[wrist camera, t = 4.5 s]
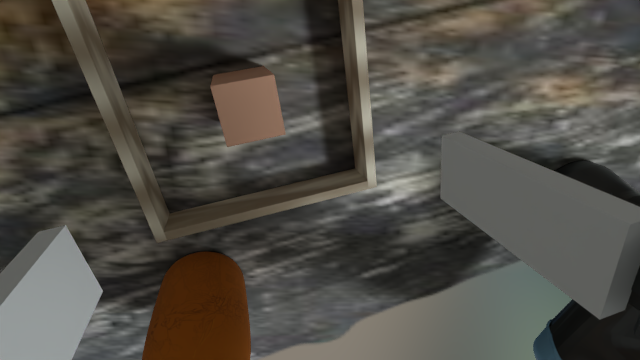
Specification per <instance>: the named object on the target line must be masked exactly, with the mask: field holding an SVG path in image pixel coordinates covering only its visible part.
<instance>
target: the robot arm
mask: <svg viewBox="0 0 640 360" xmlns="http://www.w3.org/2000/svg"><path fill="white" fill-rule="evenodd" d="M440 198H441V199H442V200H443V201H444V202H446V203H447V204H448V205H450V206H451V207H452V208H454V209H455V210H456V211H458V212H459V213H460V214H462V215H463V216H464V217H465V218H467V219H468V220H469V221H471V222H472V223H473V224H475V225H476V226H477V227H479V228H480V229H481V230H483V231H484V232H485V233H486V234H488V235H489V236H490V237H492V238H493V239H494V240H496V241H497V242H498V243H500V244H501V245H502V246H504V247H505V248H506V249H508V250H509V251H510V252H511V253H513V254H514V255H515V256H517V257H518V258H519V259H521V260H522V261H523V262H525V263H526V264H527V265H529V266H530V267H531V268H533V269H534V270H535V271H536V272H538V273H539V274H540V275H542V276H543V277H544V278H546V279H547V280H549V281H550V282H551V283H552V284H554V285H555V286H556V287H558V288H559V289H560V290H561V291H563V292H564V293H565V294H567V295H568V296H569V297H571V298H572V300H571V301H570V302H569V303H568V304H567V305H566V306H565V307H564V309H562V310H561V311H560V312H559V313H558V315H557V316H555V318H553V319H552V320H549V321H548V323H547V326H546V328H545V329H544V330H543V331H542V332H541V333H540V335H539V336H538V337H537V338H536V339H535V341H534V344H533V351H534V354H535V358H536V360H640V192H638V191H637V190H636V189H635V188H633V187H632V186H631V185H629V184H628V183H627V182H625V181H624V180H623V179H621V178H620V177H619V176H617V175H616V174H615V173H614V172H613V171H612V170H610V169H608V168H606V167H604V166H602V165H599V164H596V163H593V162H590V161H576V162H573V163H570V164H567V165H565V166H563V167H561V168H560V169H558V170H557V171H553V170H550V169H548V168H546V167H543V166H541V165H538V164H536V163H534V162H531V161H529V160H526V159H524V158H522V157H519V156H517V155H515V154H512V153H510V152H507V151H505V150H503V149H500V148H498V147H495V146H493V145H491V144H488V143H486V142H483V141H481V140H479V139H476V138H474V137H471V136H469V135H467V134H464V133H462V132H460V131H459V132H455V133H451V134H447V135H442V143H441V190H440ZM102 292H103V290H102V288H101V287H100V285H99V283H98V281H97V280H96V278H95V276H94V274H93V272H92V271H91V269H90V267H89V265H88V264H87V262H86V260H85V258H84V257H83V255H82V253H81V251H80V250H79V248H78V246H77V244H76V242H75V241H74V239H73V237H72V235H71V234H70V232H69V230H68V228H67V227H66V225H64V226H60V227H56V228H52V229H47V230H43V231H39V232H38V233H37V234H36V235H35V236H34V237H33V238H32V239H31V240H30V241H29V242H28V244H27V245H26V246H25V247H24V248H23V249H22V250H21V251H20V252H19V253H18V254H17V256H16V257H15V258H14V259H13V260H12V261H11V262H10V263H9V264H8V265H7V266H6V267H5V269H4V270H3V271H2V272H1V273H0V360H72V358H73V356H74V353H75V351H76V349H77V347H78V345H79V342H80V340H81V338H82V336H83V334H84V332H85V329H86V327H87V325H88V323H89V321H90V319H91V316H92V314H93V312H94V310H95V308H96V305H97V303H98V301H99V299H100V297H101V295H102Z"/></svg>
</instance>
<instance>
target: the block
mask: <svg viewBox="0 0 640 360" xmlns="http://www.w3.org/2000/svg"><path fill="white" fill-rule="evenodd" d="M210 87H211V90H212V94H213V98H214V101H215V105H216V108H217V112H218V116H219V119H220V123H221V126H222V130H223V134H224V137H225V141H226V144H227V147H229V146H234V145H239V144H243V143H248V142H252V141H257V140H262V139H266V138H271V137H276V136H280V135H285V129H284V123H283V118H282V113H281V108H280V103H279V98H278V93H277V87H276V82H275V77H274V74H273V73H271V72H270V71H269V70H268V69H266V68H265V67H264V66H261V67H255V68H249V69H244V70H238V71H232V72H227V73H221V74H215V75H213V78H212V82H211V86H210Z"/></svg>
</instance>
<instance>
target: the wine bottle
mask: <svg viewBox="0 0 640 360" xmlns="http://www.w3.org/2000/svg"><path fill="white" fill-rule="evenodd" d="M250 354H251V338H250V324H249V314H248V305H247V297H246V289H245V282H244V277H243V274H242V271H241V269H240V268H239V266H238V265H237V264H236V262H235V261H233V260H232V259H231V258H229V257H227V256H225V255H223V254H220V253H216V252H197V253H193V254H189V255H187V256H185V257H183V258H181V259H179V260H178V261H176V262H175V263H174V264H173V265H172V266H171V267H170V268H169V270H168V271H167V272H166V274H165V276H164V279H163V281H162V284H161V287H160V290H159V293H158V297H157V300H156V304H155V307H154V310H153V314H152V318H151V321H150V325H149V329H148V333H147V337H146V341H145V346H144V351H143V356H142V360H250Z"/></svg>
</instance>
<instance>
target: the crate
mask: <svg viewBox="0 0 640 360" xmlns="http://www.w3.org/2000/svg"><path fill="white" fill-rule="evenodd" d="M52 2H53V5H54V7H55V9H56V12H57V14H58V16H59V19H60V21H61V23H62V26H63V28H64V30H65V32H66V35H67V37H68V39H69V42H70V44H71V46H72V49H73V51H74V53H75V55H76V58H77V60H78V62H79V65H80V67H81V69H82V72H83V74H84V76H85V78H86V81H87V83H88V85H89V88H90V90H91V92H92V95H93V97H94V99H95V102H96V104H97V106H98V108H99V111H100V113H101V115H102V118H103V120H104V122H105V125H106V127H107V129H108V131H109V134H110V136H111V138H112V141H113V143H114V145H115V148H116V150H117V152H118V155H119V157H120V159H121V161H122V164H123V166H124V168H125V171H126V173H127V175H128V178H129V180H130V182H131V184H132V187H133V189H134V191H135V194H136V196H137V198H138V201H139V203H140V205H141V207H142V210H143V212H144V214H145V217H146V219H147V221H148V224H149V226H150V228H151V231H152V233H153V235H154V237H155V240H156V242H157V243H160V242H164V241H167V240H171V239H175V238H179V237H183V236H187V235H191V234H195V233H199V232H203V231H206V230H210V229H214V228H218V227H222V226H226V225H230V224H234V223H238V222H242V221H245V220H249V219H253V218H257V217H261V216H265V215H269V214H273V213H277V212H281V211H284V210H288V209H292V208H296V207H300V206H304V205H308V204H312V203H316V202H320V201H323V200H327V199H331V198H335V197H339V196H343V195H347V194H351V193H355V192H359V191H362V190H366V189H370V188H374V187H377V185H376V171H375V158H374V145H373V131H372V118H371V105H370V91H369V78H368V65H367V52H366V38H365V25H364V12H363V0H338V6H339V16H340V25H341V35H342V45H343V54H344V64H345V74H346V83H347V93H348V103H349V112H350V122H351V132H352V141H353V151H354V160H355V169H350V170H346V171H342V172H338V173H334V174H330V175H326V176H322V177H317V178H313V179H309V180H305V181H301V182H297V183H293V184H289V185H285V186H280V187H276V188H272V189H268V190H264V191H260V192H256V193H252V194H248V195H243V196H239V197H235V198H231V199H227V200H223V201H219V202H215V203H211V204H206V205H202V206H198V207H194V208H190V209H186V210H182V211H178V212H173V213H169V211H168V208H167V206H166V203H165V201H164V198H163V196H162V193H161V190H160V188H159V185H158V183H157V180H156V178H155V175H154V173H153V170H152V168H151V165H150V163H149V160H148V158H147V155H146V153H145V150H144V147H143V145H142V142H141V140H140V137H139V135H138V132H137V130H136V127H135V125H134V122H133V120H132V117H131V115H130V112H129V109H128V107H127V104H126V102H125V99H124V97H123V94H122V92H121V89H120V87H119V84H118V82H117V79H116V77H115V74H114V72H113V69H112V66H111V64H110V61H109V59H108V56H107V54H106V51H105V49H104V46H103V44H102V41H101V39H100V36H99V34H98V31H97V28H96V26H95V23H94V21H93V18H92V16H91V13H90V11H89V8H88V6H87V3H86V1H85V0H52Z"/></svg>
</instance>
